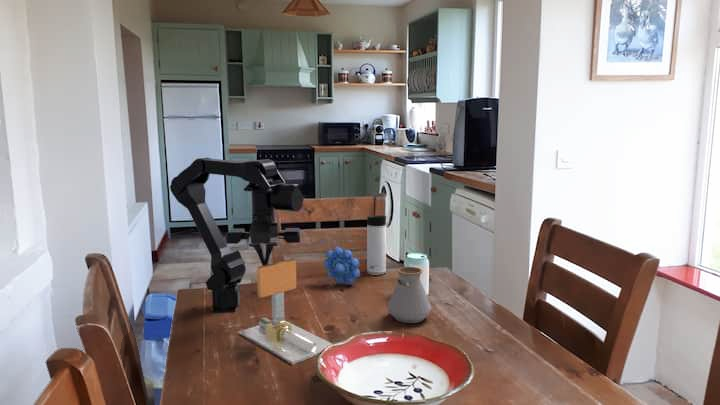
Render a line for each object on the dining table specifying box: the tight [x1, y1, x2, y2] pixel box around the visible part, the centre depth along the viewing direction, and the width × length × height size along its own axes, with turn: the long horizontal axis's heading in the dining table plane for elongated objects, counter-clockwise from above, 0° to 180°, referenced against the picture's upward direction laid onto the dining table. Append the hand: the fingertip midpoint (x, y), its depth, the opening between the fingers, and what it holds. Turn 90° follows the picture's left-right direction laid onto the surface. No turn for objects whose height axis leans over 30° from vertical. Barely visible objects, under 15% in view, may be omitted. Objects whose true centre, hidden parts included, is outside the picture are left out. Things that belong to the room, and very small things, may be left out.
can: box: [404, 252, 430, 296], centre depth 155 cm, size 7×7×12 cm
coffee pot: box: [387, 266, 432, 324], centre depth 132 cm, size 21×12×15 cm, turn 165°
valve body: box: [239, 317, 333, 365], centre depth 124 cm, size 22×12×3 cm, turn 43°
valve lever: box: [256, 258, 297, 325], centre depth 125 cm, size 2×10×15 cm, turn 132°
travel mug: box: [366, 214, 387, 275], centre depth 175 cm, size 6×7×20 cm
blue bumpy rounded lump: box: [323, 246, 361, 285], centre depth 163 cm, size 12×7×12 cm, turn 78°
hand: (265, 267), depth 138 cm, fingers closed
